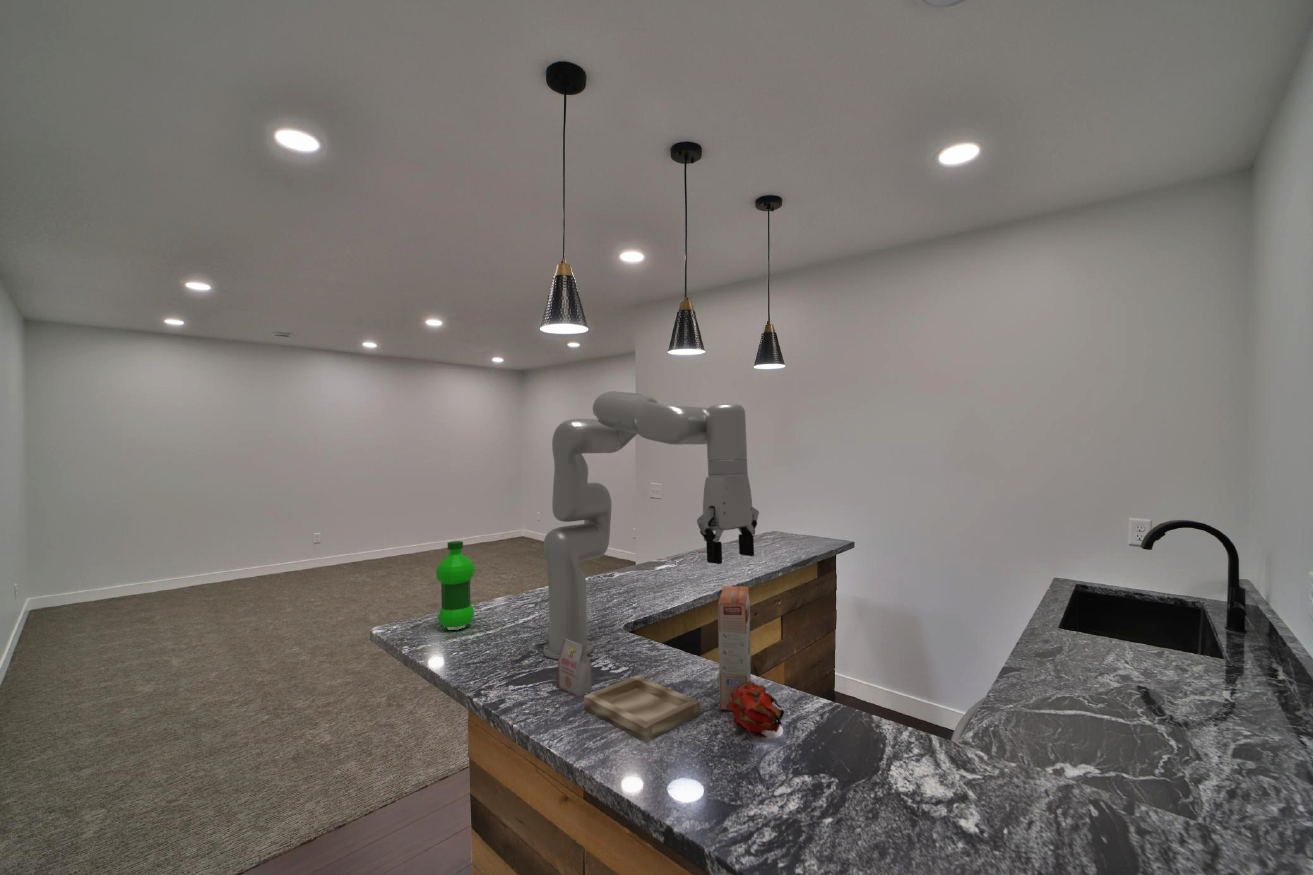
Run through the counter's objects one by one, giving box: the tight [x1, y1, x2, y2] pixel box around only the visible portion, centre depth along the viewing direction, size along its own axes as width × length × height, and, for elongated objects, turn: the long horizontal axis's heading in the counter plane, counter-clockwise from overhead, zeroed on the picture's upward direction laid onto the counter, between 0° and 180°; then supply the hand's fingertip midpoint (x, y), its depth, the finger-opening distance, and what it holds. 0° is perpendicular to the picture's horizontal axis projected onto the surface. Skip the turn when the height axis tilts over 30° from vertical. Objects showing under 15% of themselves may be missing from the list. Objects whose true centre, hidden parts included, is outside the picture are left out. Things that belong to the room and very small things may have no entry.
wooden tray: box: [583, 675, 701, 743], centre depth 108 cm, size 18×14×2 cm
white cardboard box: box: [557, 639, 593, 698], centre depth 119 cm, size 4×7×10 cm, turn 44°
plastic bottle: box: [435, 540, 476, 628], centre depth 163 cm, size 10×10×25 cm
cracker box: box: [717, 585, 752, 712], centre depth 114 cm, size 14×6×21 cm, turn 168°
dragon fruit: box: [726, 680, 785, 739], centre depth 100 cm, size 8×8×12 cm
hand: (731, 559), depth 106 cm, fingers open, 9 cm apart
